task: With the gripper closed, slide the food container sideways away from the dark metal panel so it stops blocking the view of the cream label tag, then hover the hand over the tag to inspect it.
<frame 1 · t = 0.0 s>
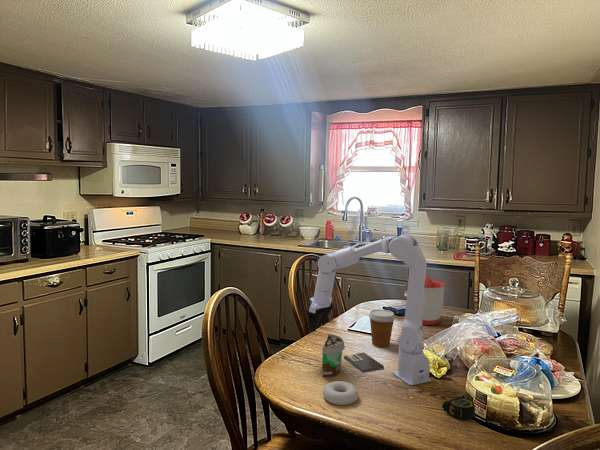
hand: (316, 327, 152), 11 cm above the table, fingers open, 7 cm apart
disposable coffee cup: (380, 344, 166), on the table
food container: (334, 372, 143), on the table
tape measure: (457, 415, 118), on the table
label panel: (363, 363, 149), on the table
citrus juicer: (422, 321, 194), on the table
donut: (340, 399, 126), on the table
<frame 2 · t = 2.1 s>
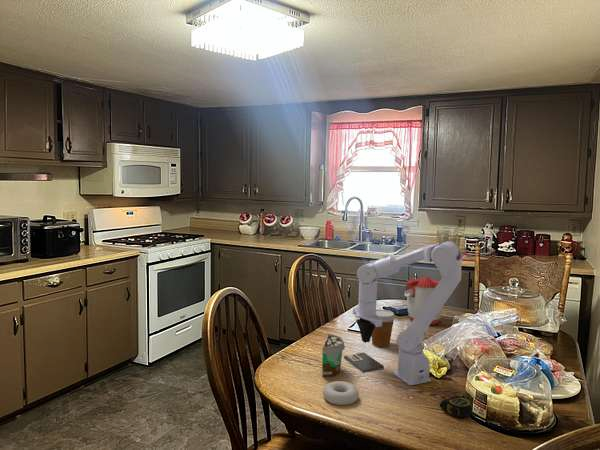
hand: (365, 341, 146), 8 cm above the table, fingers closed
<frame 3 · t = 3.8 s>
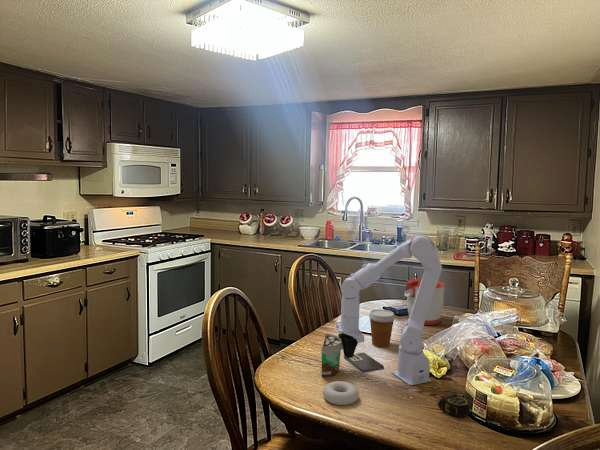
hand: (348, 356, 144), 4 cm above the table, fingers closed
food container: (332, 371, 143), on the table, touching gripper
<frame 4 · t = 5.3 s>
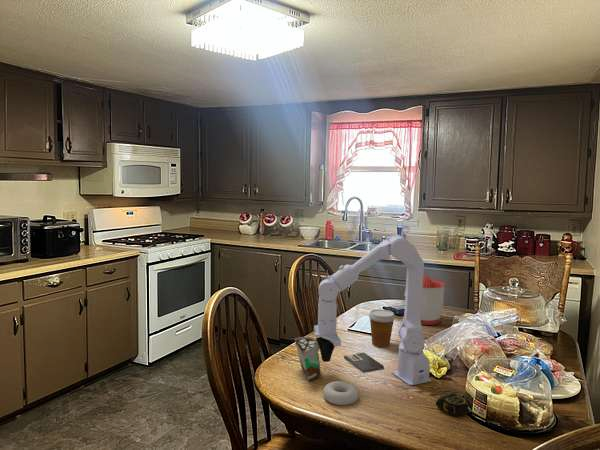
hand: (326, 360, 141), 4 cm above the table, fingers closed
food container: (314, 372, 140), on the table, touching gripper
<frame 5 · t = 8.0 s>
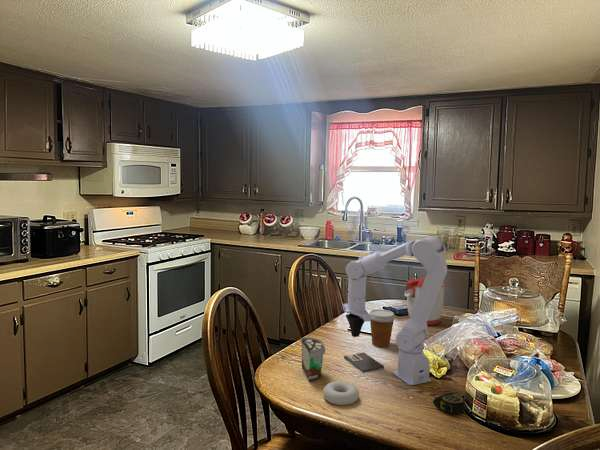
hand: (355, 336, 151), 8 cm above the table, fingers closed
food container: (314, 374, 140), on the table
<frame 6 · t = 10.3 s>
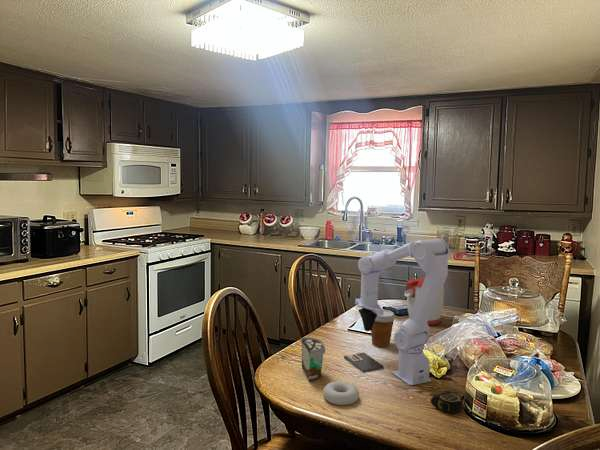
hand: (368, 330, 154), 9 cm above the table, fingers closed
at the end: food container inside the target area (4.4 cm from its centre), on the table; food container tilted 0°; food container touching table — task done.
